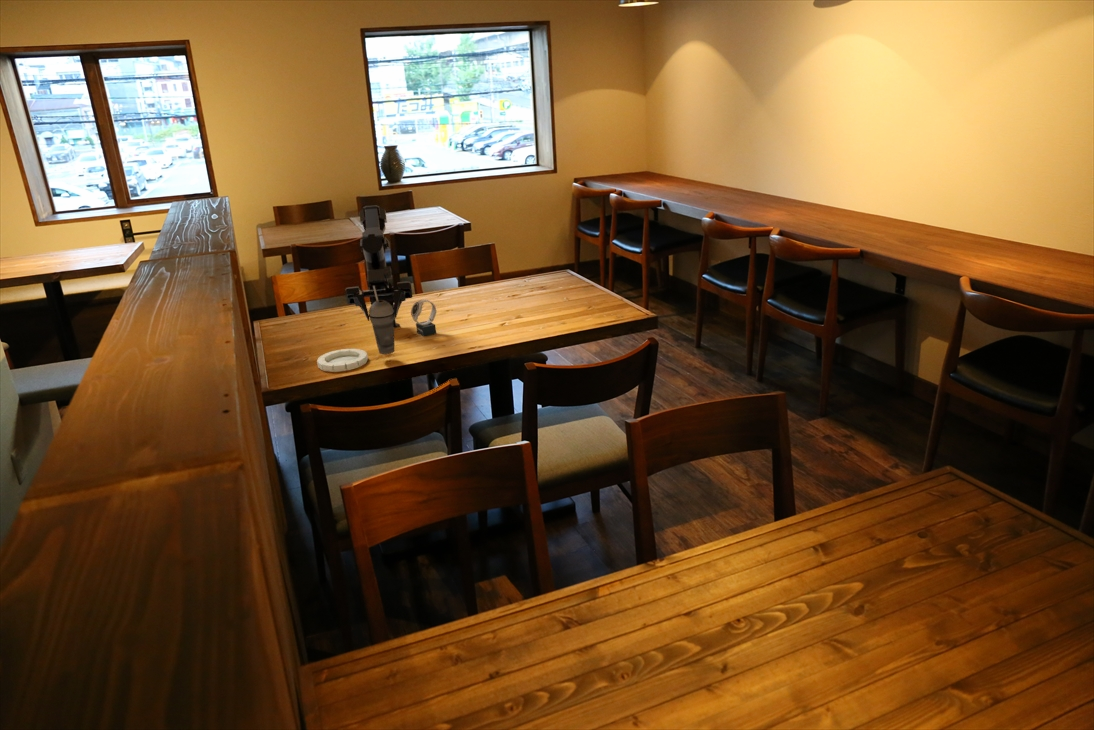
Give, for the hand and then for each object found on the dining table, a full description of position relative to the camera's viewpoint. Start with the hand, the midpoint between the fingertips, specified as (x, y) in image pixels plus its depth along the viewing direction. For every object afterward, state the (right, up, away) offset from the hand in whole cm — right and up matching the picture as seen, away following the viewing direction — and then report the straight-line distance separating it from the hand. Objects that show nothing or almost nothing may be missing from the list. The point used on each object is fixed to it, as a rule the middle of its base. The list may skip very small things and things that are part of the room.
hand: (381, 318), depth 211 cm
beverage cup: (0, -10, +5) cm, 11 cm away
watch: (+8, -3, +28) cm, 29 cm away
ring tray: (-13, -13, +6) cm, 19 cm away
